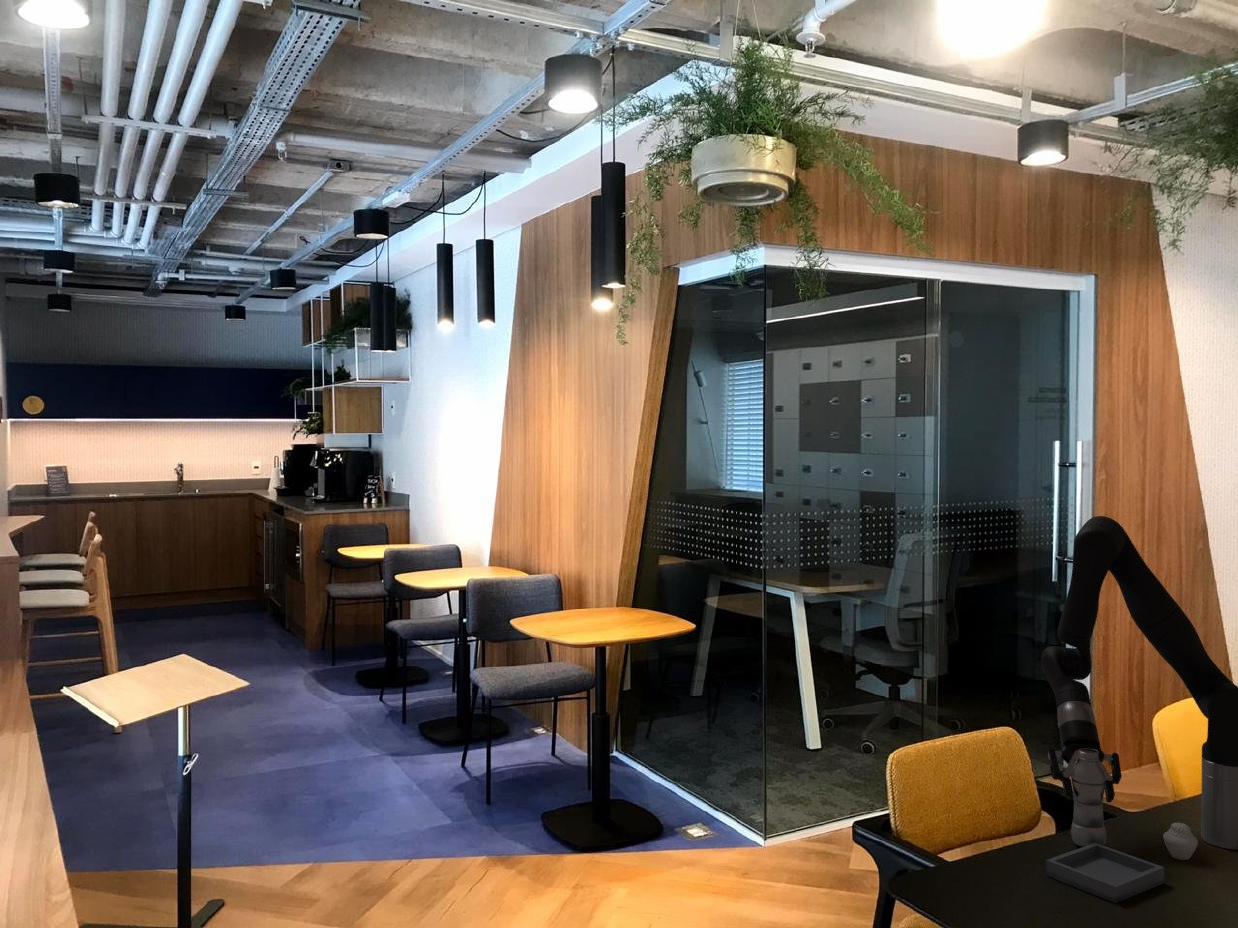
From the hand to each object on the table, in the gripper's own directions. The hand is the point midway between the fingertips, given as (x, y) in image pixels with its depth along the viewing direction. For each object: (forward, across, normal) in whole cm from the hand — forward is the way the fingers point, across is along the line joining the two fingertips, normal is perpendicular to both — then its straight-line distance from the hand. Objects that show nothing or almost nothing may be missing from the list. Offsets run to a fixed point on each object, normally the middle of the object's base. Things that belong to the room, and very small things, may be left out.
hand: (1090, 799), depth 203 cm
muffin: (+7, +17, +8) cm, 20 cm away
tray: (+18, -1, -3) cm, 18 cm away
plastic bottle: (+6, 0, +9) cm, 11 cm away
